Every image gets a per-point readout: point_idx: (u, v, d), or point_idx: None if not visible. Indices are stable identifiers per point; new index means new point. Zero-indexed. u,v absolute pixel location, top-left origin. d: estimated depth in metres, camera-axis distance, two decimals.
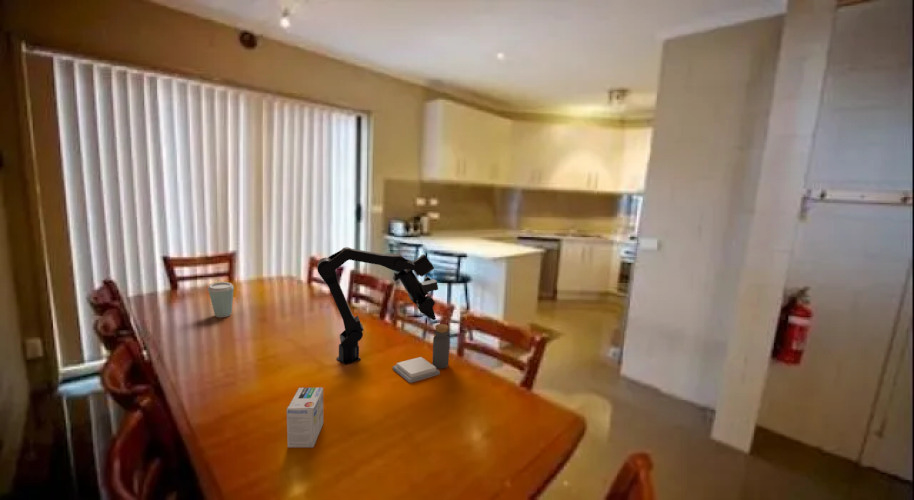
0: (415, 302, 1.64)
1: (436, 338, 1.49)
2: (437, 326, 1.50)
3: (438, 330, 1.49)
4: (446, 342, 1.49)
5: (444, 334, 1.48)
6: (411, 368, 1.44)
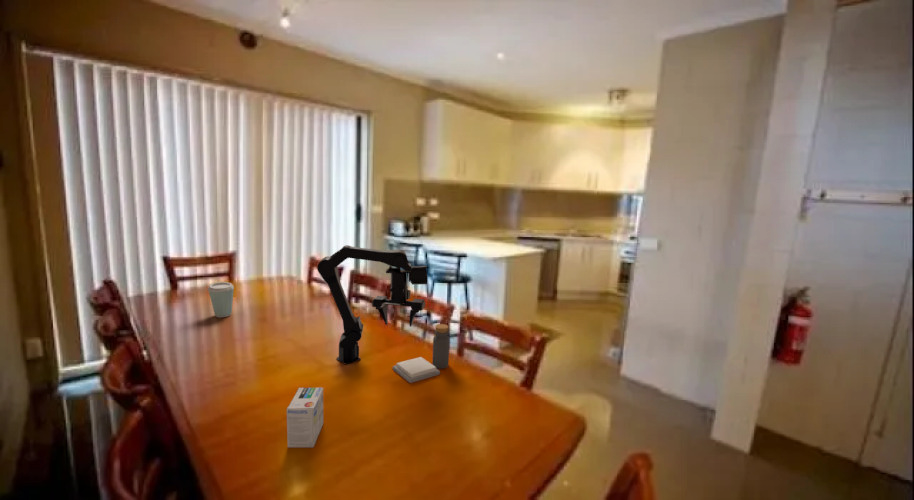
0: (383, 309, 1.52)
1: (436, 338, 1.49)
2: (437, 326, 1.50)
3: (438, 330, 1.49)
4: (446, 342, 1.49)
5: (444, 334, 1.48)
6: (411, 368, 1.44)
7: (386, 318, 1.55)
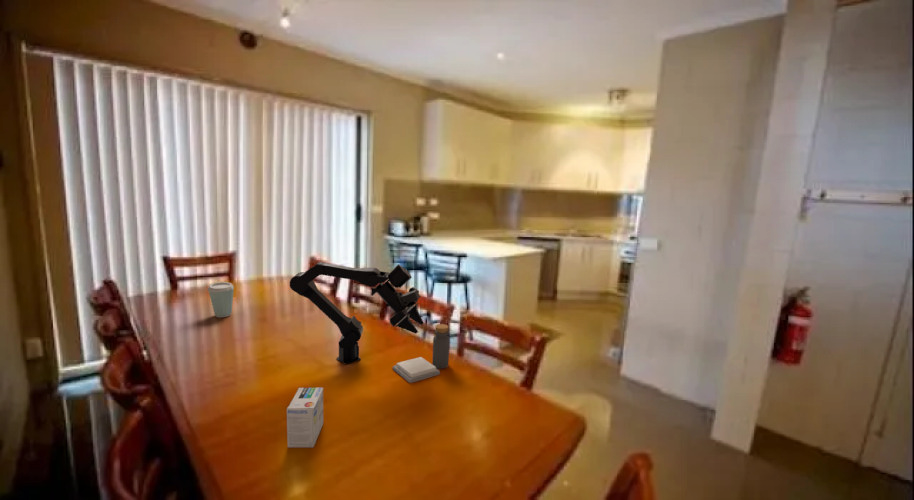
0: (407, 314, 1.57)
1: (436, 338, 1.49)
2: (437, 326, 1.50)
3: (438, 330, 1.49)
4: (446, 342, 1.49)
5: (444, 334, 1.48)
6: (411, 368, 1.44)
7: (417, 319, 1.56)
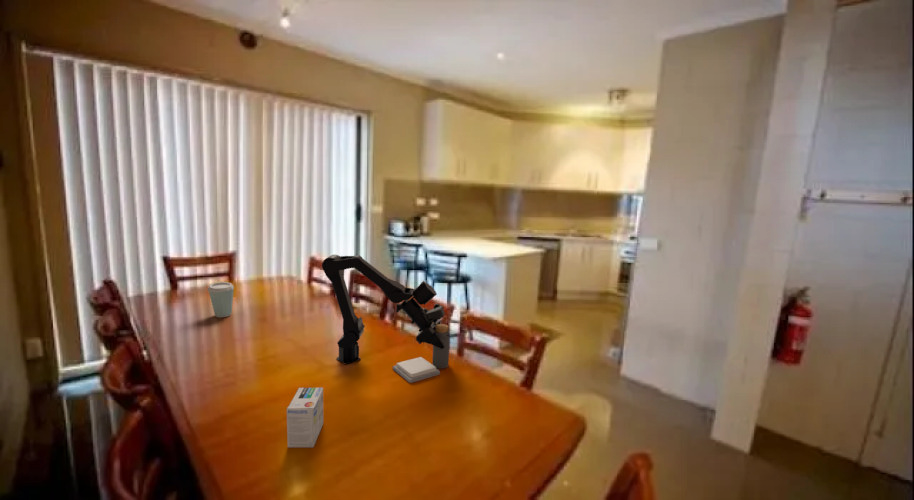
0: None
1: None
2: (437, 326, 1.50)
3: (438, 330, 1.49)
4: (446, 342, 1.49)
5: (444, 334, 1.48)
6: (411, 368, 1.44)
7: None
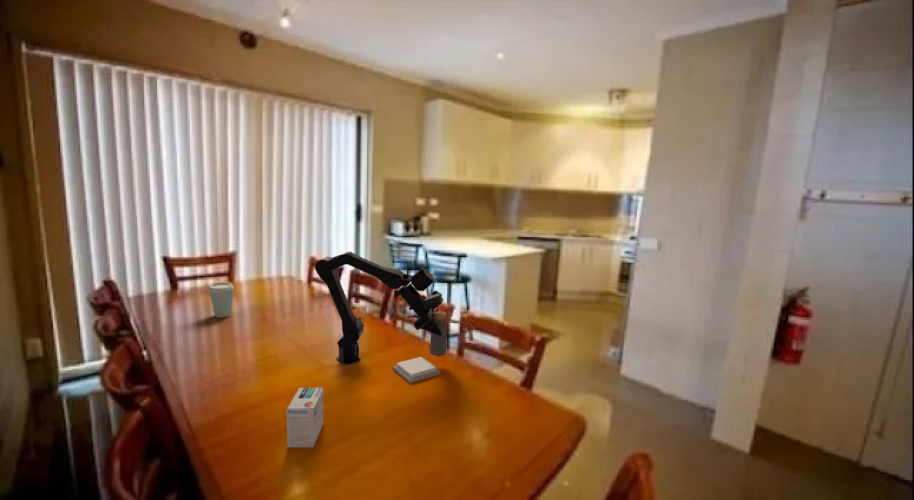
0: None
1: None
2: (435, 312, 1.49)
3: (436, 317, 1.47)
4: (444, 329, 1.48)
5: (442, 321, 1.47)
6: (411, 368, 1.44)
7: None
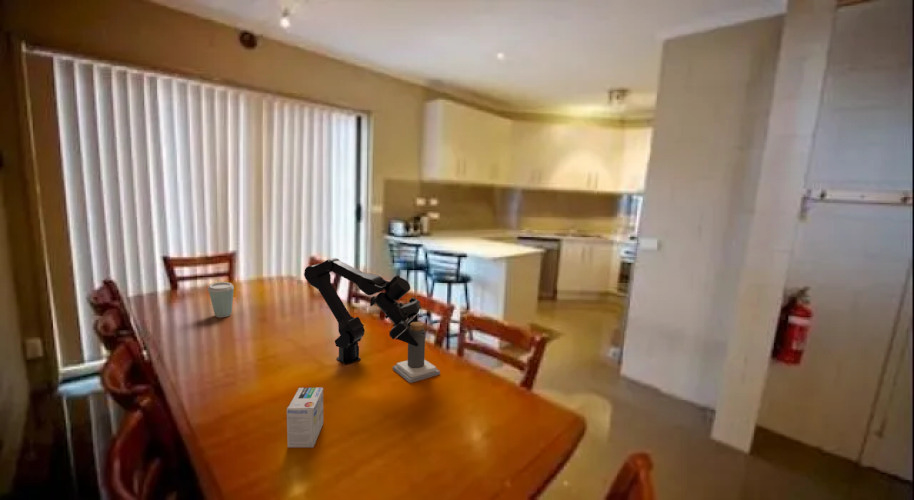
0: (407, 326, 1.50)
1: None
2: (412, 323, 1.44)
3: (413, 328, 1.43)
4: (421, 340, 1.43)
5: (419, 332, 1.42)
6: (411, 368, 1.44)
7: None
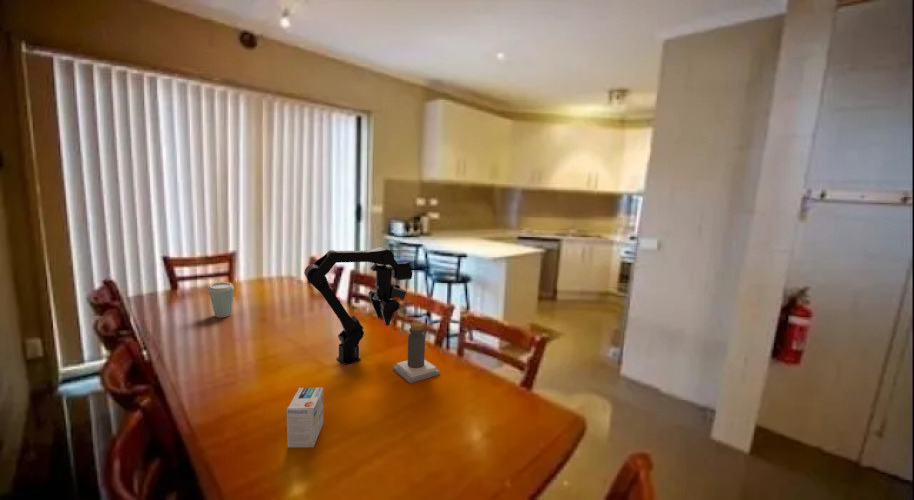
0: (373, 302, 1.60)
1: (411, 336, 1.43)
2: (412, 323, 1.44)
3: (413, 328, 1.43)
4: (421, 340, 1.43)
5: (419, 332, 1.42)
6: (411, 368, 1.44)
7: (378, 311, 1.61)
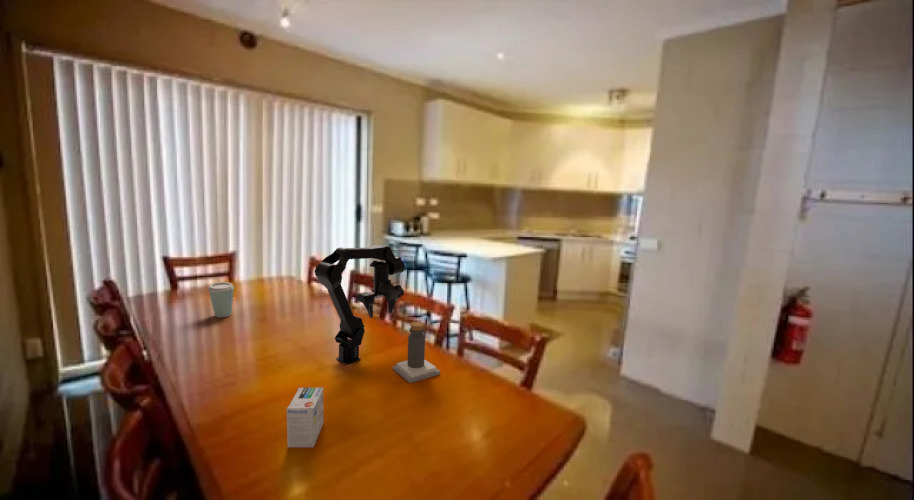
0: None
1: (411, 336, 1.43)
2: (412, 323, 1.44)
3: (413, 328, 1.43)
4: (421, 340, 1.43)
5: (419, 332, 1.42)
6: (411, 368, 1.44)
7: (389, 307, 1.68)
